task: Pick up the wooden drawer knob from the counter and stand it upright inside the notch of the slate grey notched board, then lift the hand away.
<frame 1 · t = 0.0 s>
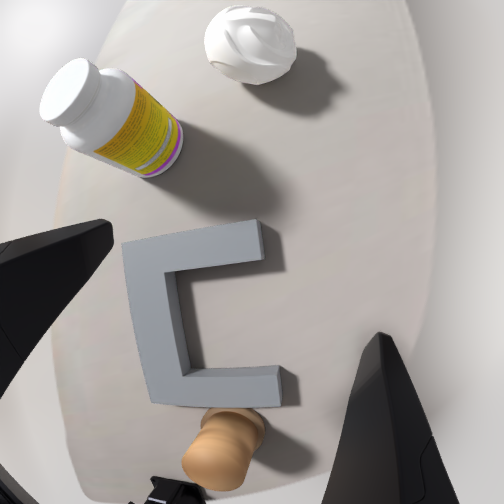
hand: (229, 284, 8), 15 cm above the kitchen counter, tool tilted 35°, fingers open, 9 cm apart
wooden drawer knob: (233, 427, 24), on the kitchen counter
supplement bottle: (155, 146, 25), on the kitchen counter
white rounded piece: (258, 68, 23), on the kitchen counter
notched board: (203, 320, 24), on the kitchen counter
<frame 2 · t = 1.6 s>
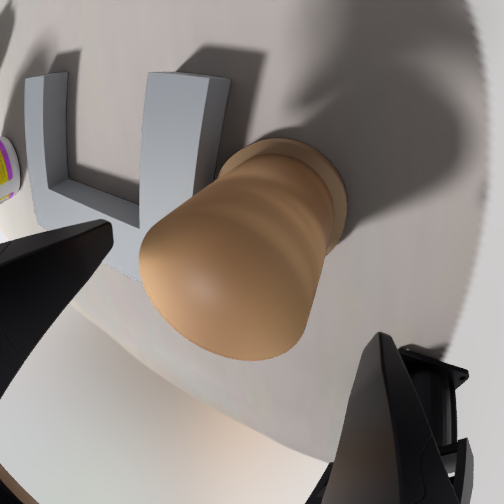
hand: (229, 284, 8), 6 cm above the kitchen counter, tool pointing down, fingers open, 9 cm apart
wooden drawer knob: (281, 202, 13), on the kitchen counter
supplement bottle: (11, 164, 20), on the kitchen counter
notched board: (106, 164, 16), on the kitchen counter
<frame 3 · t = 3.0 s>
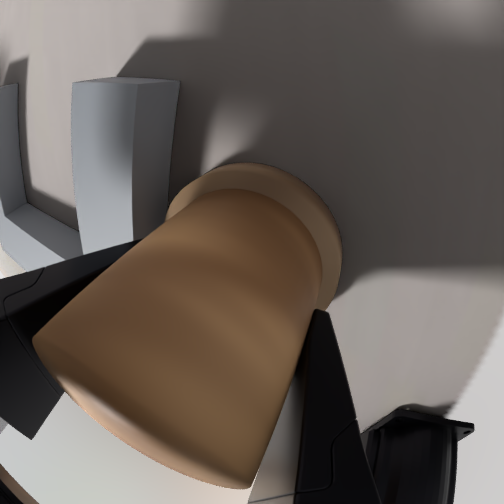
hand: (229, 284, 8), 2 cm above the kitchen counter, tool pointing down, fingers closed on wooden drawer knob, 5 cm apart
wooden drawer knob: (253, 249, 10), on the kitchen counter, touching gripper
notched board: (57, 191, 12), on the kitchen counter
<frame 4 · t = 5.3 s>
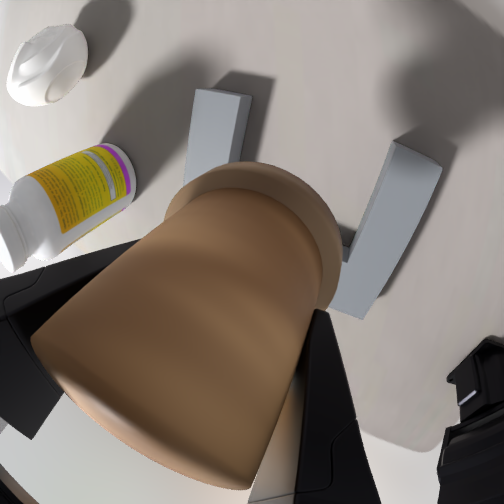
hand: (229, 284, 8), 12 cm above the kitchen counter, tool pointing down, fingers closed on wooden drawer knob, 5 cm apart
wooden drawer knob: (253, 248, 10), point 10 cm above the kitchen counter, touching gripper
supplement bottle: (114, 175, 24), on the kitchen counter
white rounded piece: (80, 60, 18), on the kitchen counter
notched board: (297, 199, 19), on the kitchen counter
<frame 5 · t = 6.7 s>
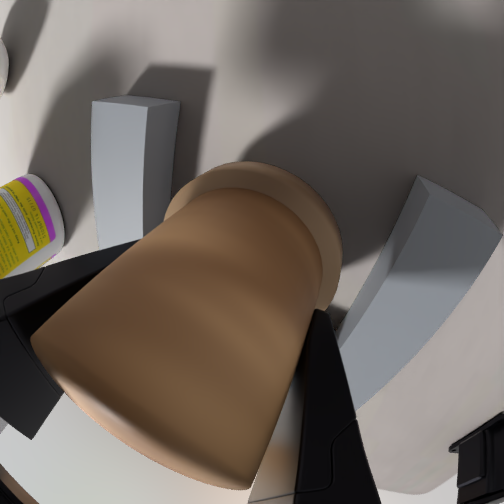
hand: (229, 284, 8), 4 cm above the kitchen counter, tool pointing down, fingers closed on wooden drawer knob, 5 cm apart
wooden drawer knob: (253, 248, 10), point 2 cm above the kitchen counter, touching gripper
supplement bottle: (45, 211, 17), on the kitchen counter
white rounded piece: (7, 71, 12), on the kitchen counter
notched board: (257, 264, 12), on the kitchen counter
when the fingers open (3 cm above the kitchen counter, at t = 7.6 s): wooden drawer knob drops 2 cm, on the kitchen counter.
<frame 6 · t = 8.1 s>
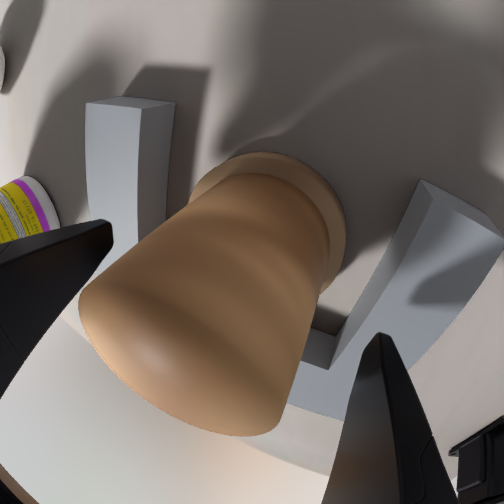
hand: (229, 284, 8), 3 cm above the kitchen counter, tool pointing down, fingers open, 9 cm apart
wooden drawer knob: (267, 228, 11), on the kitchen counter
supplement bottle: (42, 213, 17), on the kitchen counter
white rounded piece: (3, 72, 12), on the kitchen counter
notched board: (254, 269, 12), on the kitchen counter
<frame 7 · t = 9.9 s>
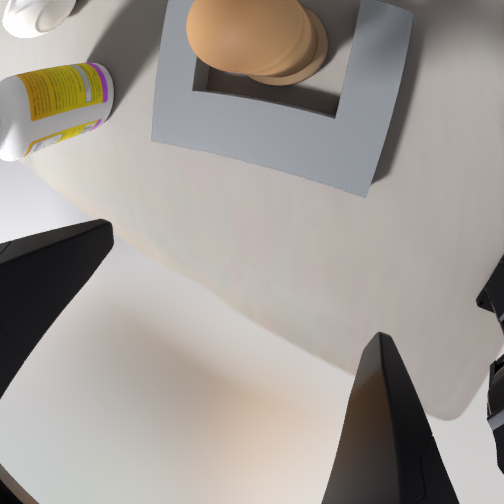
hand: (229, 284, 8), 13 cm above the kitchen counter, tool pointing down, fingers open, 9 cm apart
wooden drawer knob: (280, 42, 14), on the kitchen counter
supplement bottle: (94, 95, 20), on the kitchen counter
white rounded piece: (71, 3, 15), on the kitchen counter
notched board: (273, 71, 15), on the kitchen counter
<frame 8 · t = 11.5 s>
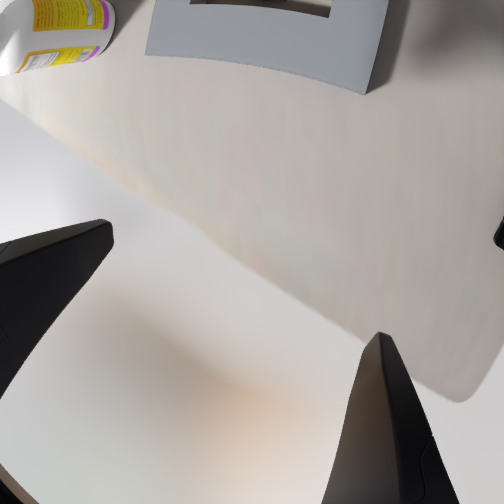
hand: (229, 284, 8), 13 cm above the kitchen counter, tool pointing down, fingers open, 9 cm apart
supplement bottle: (96, 30, 17), on the kitchen counter
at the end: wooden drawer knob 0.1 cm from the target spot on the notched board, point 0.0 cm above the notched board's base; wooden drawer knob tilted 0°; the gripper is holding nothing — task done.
